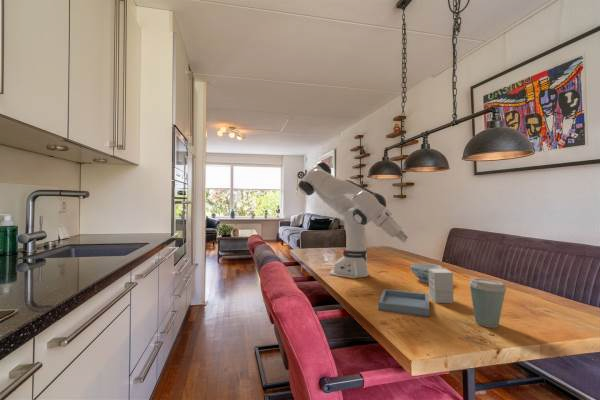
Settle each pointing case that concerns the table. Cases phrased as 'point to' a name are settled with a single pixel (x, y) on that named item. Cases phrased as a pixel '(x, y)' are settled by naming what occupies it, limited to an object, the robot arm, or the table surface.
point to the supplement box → (441, 285)
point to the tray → (404, 302)
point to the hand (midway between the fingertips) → (406, 240)
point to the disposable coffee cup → (487, 301)
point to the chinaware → (423, 270)
